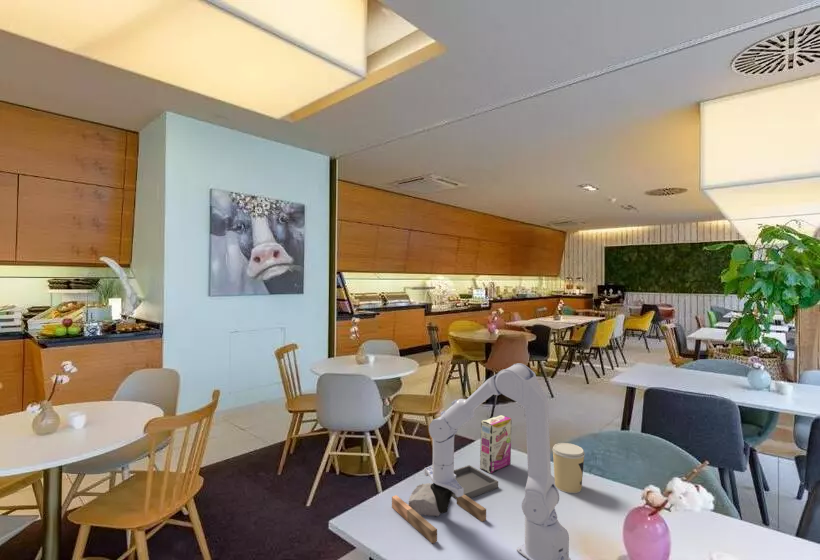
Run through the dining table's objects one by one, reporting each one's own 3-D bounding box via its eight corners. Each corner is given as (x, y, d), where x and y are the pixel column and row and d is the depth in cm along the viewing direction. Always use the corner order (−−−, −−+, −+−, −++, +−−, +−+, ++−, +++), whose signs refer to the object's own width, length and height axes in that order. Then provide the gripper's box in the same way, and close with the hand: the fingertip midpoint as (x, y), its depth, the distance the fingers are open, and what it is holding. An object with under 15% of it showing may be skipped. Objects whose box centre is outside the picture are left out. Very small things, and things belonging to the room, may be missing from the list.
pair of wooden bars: (486, 520, 110) (486, 508, 110) (432, 543, 100) (432, 531, 100) (442, 489, 126) (442, 479, 126) (391, 507, 116) (391, 496, 116)
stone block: (407, 519, 114) (442, 517, 111) (404, 501, 114) (439, 499, 111) (418, 498, 125) (450, 497, 122) (415, 482, 125) (447, 480, 123)
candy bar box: (491, 474, 136) (491, 424, 136) (479, 469, 140) (479, 420, 140) (511, 464, 143) (512, 417, 143) (500, 459, 147) (500, 414, 147)
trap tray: (498, 487, 127) (498, 481, 127) (460, 502, 119) (460, 495, 119) (469, 471, 138) (469, 465, 138) (433, 483, 130) (433, 476, 130)
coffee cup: (587, 496, 123) (588, 455, 123) (555, 493, 125) (555, 453, 125) (580, 480, 132) (580, 443, 132) (549, 478, 134) (550, 441, 134)
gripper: (472, 467, 108) (472, 519, 108) (438, 448, 120) (438, 495, 120) (451, 474, 104) (451, 528, 104) (418, 454, 116) (418, 502, 116)
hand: (442, 511), depth 111 cm, fingers closed
